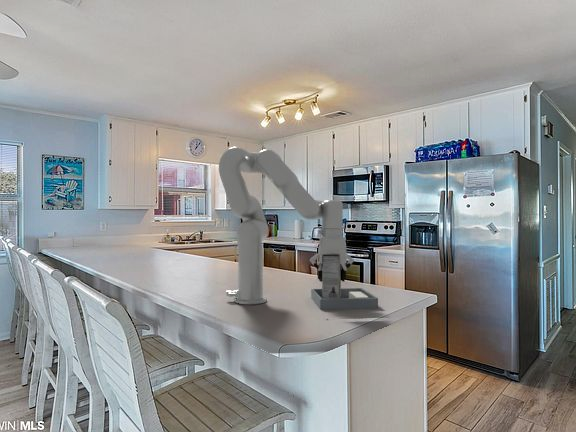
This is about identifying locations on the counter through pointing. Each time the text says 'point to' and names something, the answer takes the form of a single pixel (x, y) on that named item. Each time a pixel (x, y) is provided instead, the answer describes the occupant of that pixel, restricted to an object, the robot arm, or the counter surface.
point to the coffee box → (331, 276)
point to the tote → (345, 300)
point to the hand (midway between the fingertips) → (331, 280)
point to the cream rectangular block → (357, 295)
